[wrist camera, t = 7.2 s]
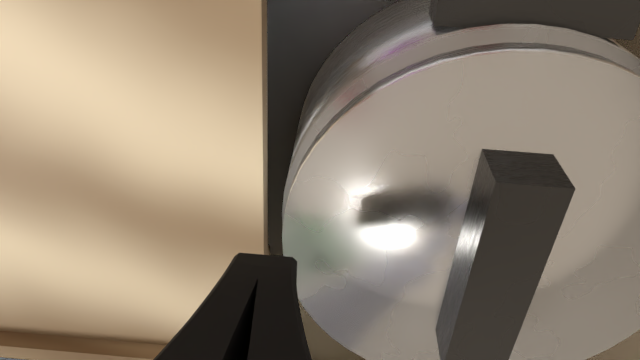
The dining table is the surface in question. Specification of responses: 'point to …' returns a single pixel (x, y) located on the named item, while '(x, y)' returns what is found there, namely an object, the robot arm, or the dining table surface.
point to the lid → (476, 209)
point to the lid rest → (125, 168)
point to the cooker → (455, 45)
